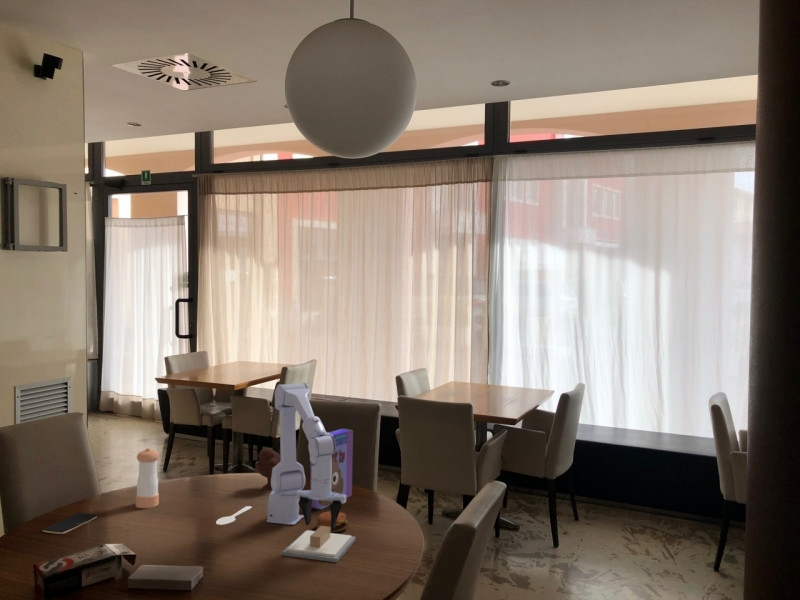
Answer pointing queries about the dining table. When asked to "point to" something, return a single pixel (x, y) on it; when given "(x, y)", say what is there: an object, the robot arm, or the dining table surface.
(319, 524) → the burger
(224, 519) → the spoon
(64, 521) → the smartphone
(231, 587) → the dining table surface
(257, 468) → the ice cream bowl
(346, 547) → the mat
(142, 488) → the pepper shaker
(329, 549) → the lid
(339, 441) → the cereal box
